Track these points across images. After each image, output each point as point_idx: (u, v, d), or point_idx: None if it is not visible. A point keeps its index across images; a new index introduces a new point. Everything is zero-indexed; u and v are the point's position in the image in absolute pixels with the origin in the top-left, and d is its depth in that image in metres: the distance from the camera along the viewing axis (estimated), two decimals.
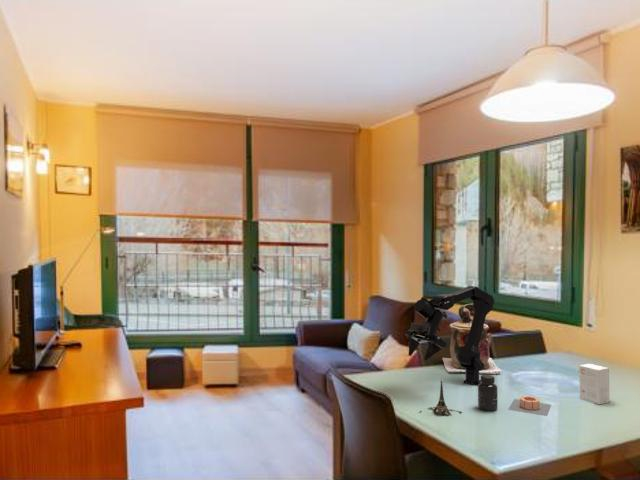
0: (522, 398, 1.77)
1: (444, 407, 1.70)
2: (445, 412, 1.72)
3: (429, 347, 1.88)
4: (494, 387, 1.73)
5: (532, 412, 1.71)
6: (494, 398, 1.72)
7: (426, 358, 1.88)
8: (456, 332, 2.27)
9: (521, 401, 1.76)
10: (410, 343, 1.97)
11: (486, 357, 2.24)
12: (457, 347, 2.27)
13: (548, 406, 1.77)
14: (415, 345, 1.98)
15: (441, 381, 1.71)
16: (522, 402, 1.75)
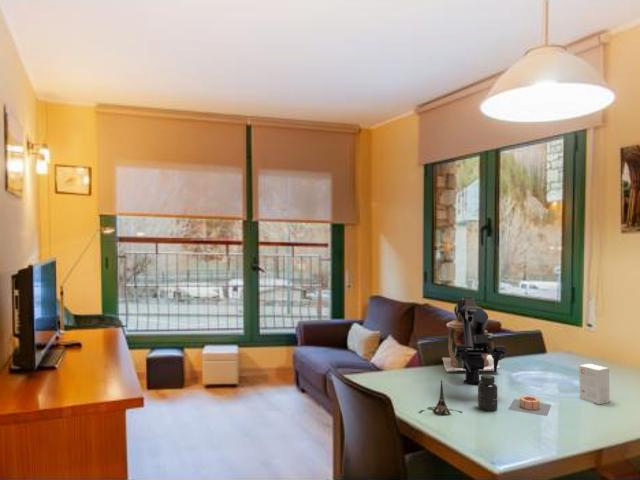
0: (522, 398, 1.77)
1: (444, 407, 1.71)
2: (445, 412, 1.73)
3: (497, 358, 1.84)
4: (494, 387, 1.73)
5: (532, 412, 1.71)
6: (495, 398, 1.72)
7: None
8: (453, 331, 2.28)
9: (521, 401, 1.76)
10: (467, 358, 1.86)
11: (484, 354, 2.24)
12: (455, 346, 2.27)
13: (548, 406, 1.77)
14: None
15: (441, 381, 1.72)
16: (522, 402, 1.75)
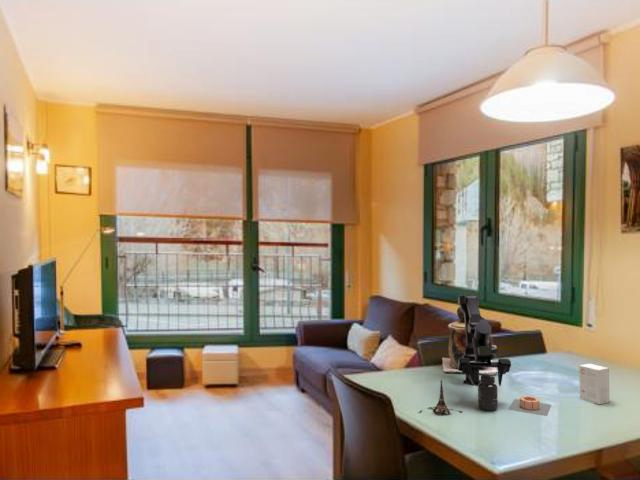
0: (522, 398, 1.77)
1: (444, 407, 1.71)
2: (445, 412, 1.73)
3: (501, 371, 1.78)
4: (494, 387, 1.73)
5: (532, 412, 1.71)
6: (495, 398, 1.72)
7: None
8: (453, 332, 2.27)
9: (521, 401, 1.76)
10: (470, 371, 1.79)
11: None
12: (454, 347, 2.27)
13: (548, 406, 1.77)
14: None
15: (441, 381, 1.72)
16: (522, 402, 1.75)
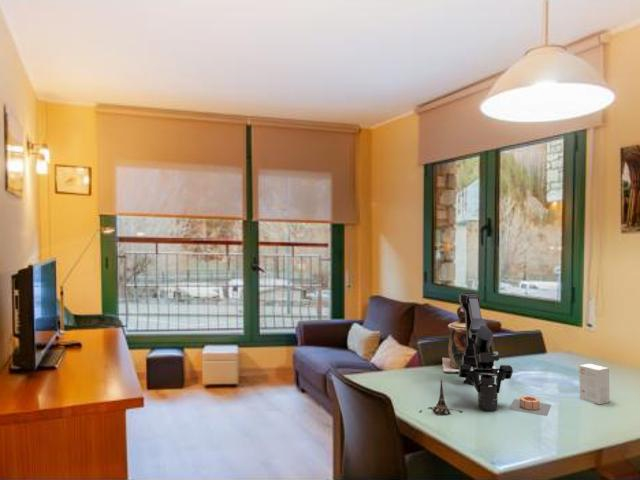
0: (522, 398, 1.77)
1: (444, 406, 1.71)
2: (445, 411, 1.73)
3: (499, 378, 1.76)
4: (494, 387, 1.73)
5: (532, 412, 1.71)
6: (494, 398, 1.72)
7: (499, 390, 1.74)
8: (453, 332, 2.27)
9: (521, 401, 1.76)
10: (474, 378, 1.77)
11: None
12: (454, 347, 2.27)
13: (548, 406, 1.77)
14: None
15: (441, 380, 1.72)
16: (522, 402, 1.75)
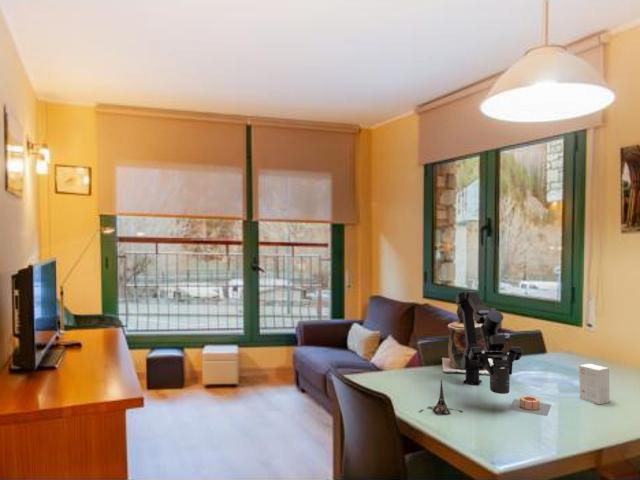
0: (522, 398, 1.77)
1: (444, 406, 1.71)
2: (445, 411, 1.73)
3: (511, 359, 1.76)
4: (507, 369, 1.72)
5: (532, 412, 1.71)
6: (508, 380, 1.72)
7: None
8: (453, 332, 2.27)
9: (521, 401, 1.76)
10: (487, 361, 1.76)
11: None
12: (454, 347, 2.27)
13: (548, 406, 1.77)
14: None
15: (441, 380, 1.72)
16: (522, 402, 1.75)
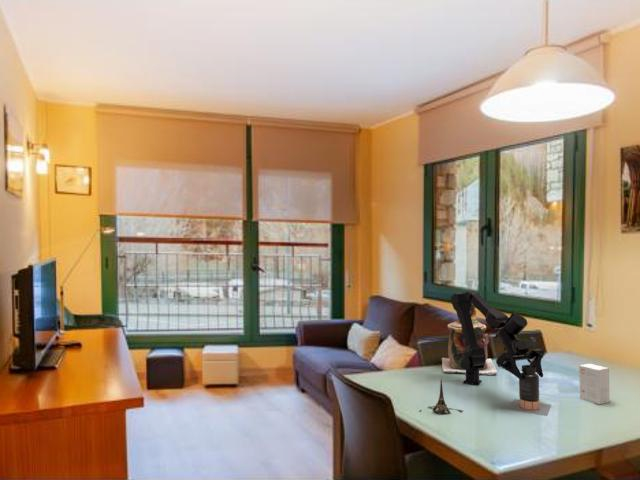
0: None
1: (444, 406, 1.72)
2: (445, 411, 1.74)
3: (539, 362, 1.79)
4: (538, 376, 1.75)
5: (532, 412, 1.71)
6: (538, 386, 1.74)
7: None
8: (453, 332, 2.27)
9: (521, 401, 1.76)
10: (515, 366, 1.75)
11: None
12: (454, 347, 2.27)
13: (548, 406, 1.77)
14: None
15: (441, 380, 1.73)
16: (522, 402, 1.75)
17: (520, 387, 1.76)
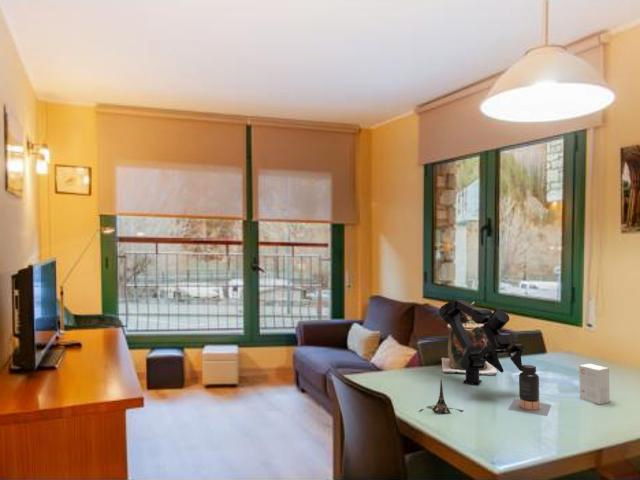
0: None
1: (444, 405, 1.72)
2: (444, 410, 1.74)
3: (519, 356, 1.88)
4: (538, 376, 1.75)
5: (532, 412, 1.71)
6: (538, 386, 1.74)
7: None
8: (452, 332, 2.27)
9: (521, 401, 1.76)
10: (497, 359, 1.84)
11: None
12: (453, 347, 2.27)
13: (548, 406, 1.77)
14: None
15: (441, 380, 1.73)
16: (522, 402, 1.75)
17: (520, 387, 1.76)
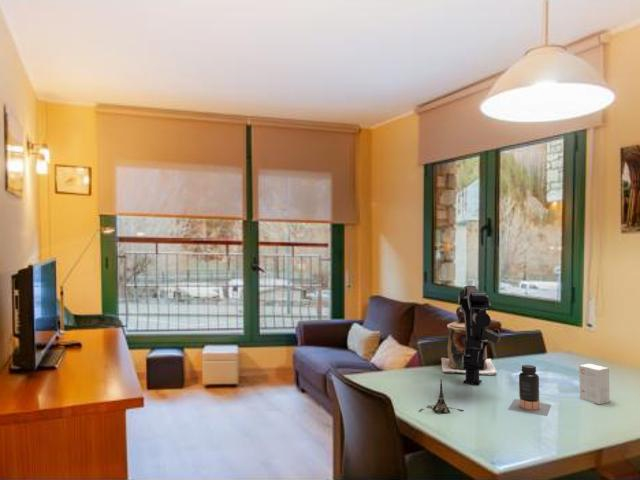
0: None
1: (444, 405, 1.72)
2: (444, 410, 1.74)
3: (485, 346, 1.97)
4: (538, 376, 1.75)
5: (532, 412, 1.71)
6: (538, 386, 1.74)
7: None
8: (452, 332, 2.27)
9: (521, 401, 1.76)
10: (478, 353, 1.87)
11: None
12: (453, 347, 2.27)
13: (548, 406, 1.77)
14: None
15: (441, 379, 1.73)
16: (522, 402, 1.75)
17: (520, 387, 1.76)
